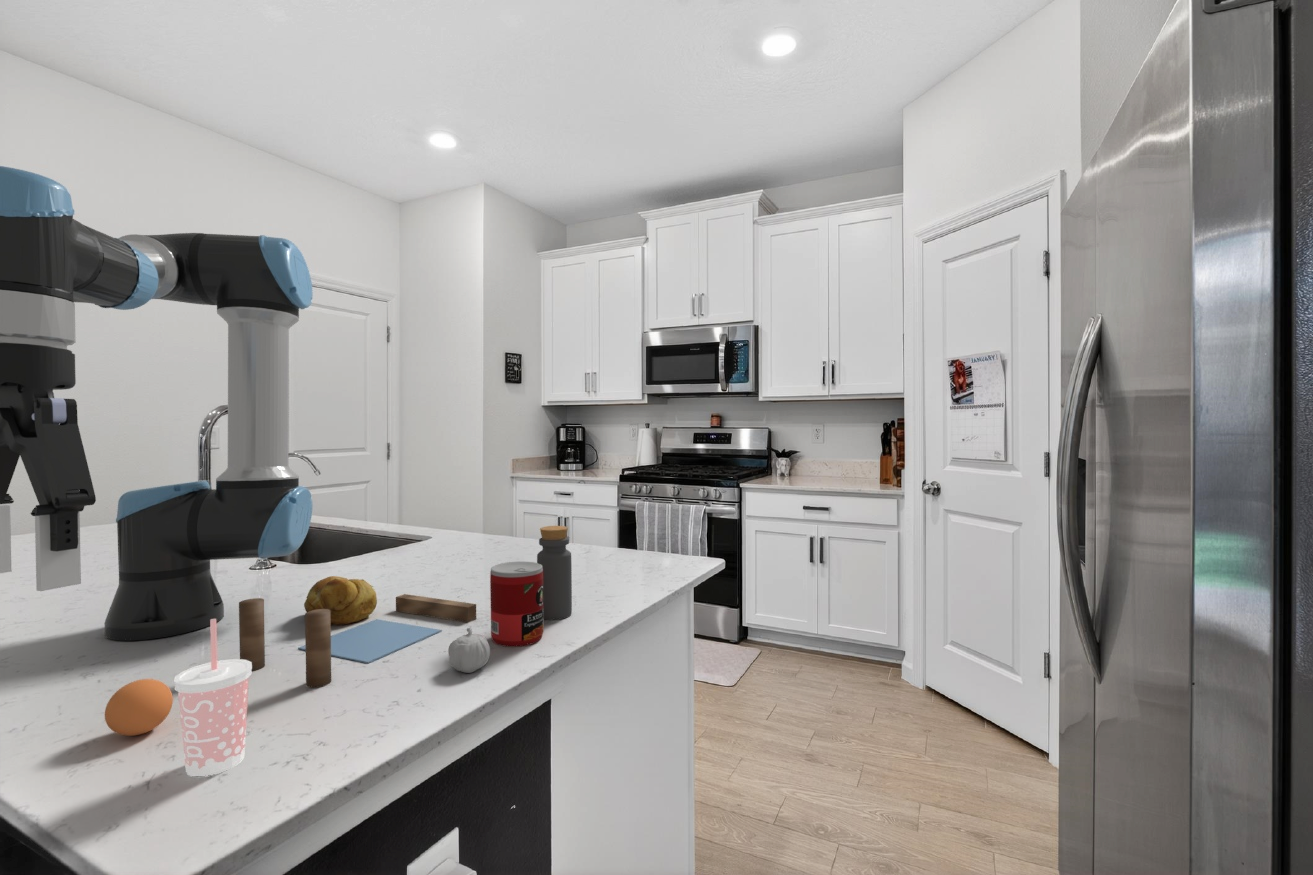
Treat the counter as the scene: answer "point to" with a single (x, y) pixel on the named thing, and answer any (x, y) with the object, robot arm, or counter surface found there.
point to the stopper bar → (436, 607)
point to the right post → (318, 647)
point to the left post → (252, 632)
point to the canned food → (516, 603)
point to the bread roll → (342, 599)
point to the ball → (138, 707)
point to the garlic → (469, 652)
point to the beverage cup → (213, 712)
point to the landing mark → (376, 640)
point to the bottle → (556, 572)
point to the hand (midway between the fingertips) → (23, 580)
